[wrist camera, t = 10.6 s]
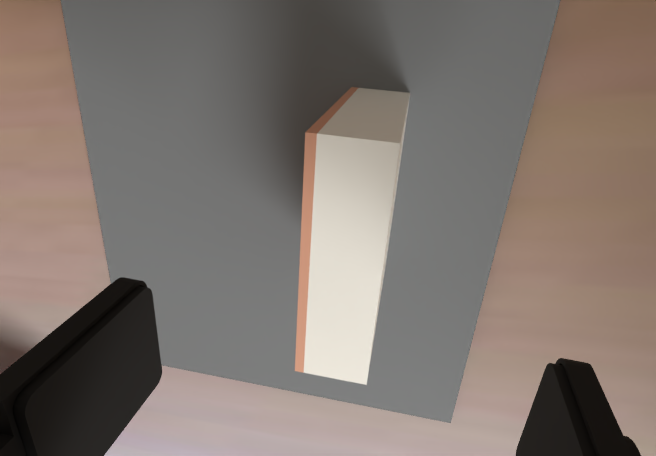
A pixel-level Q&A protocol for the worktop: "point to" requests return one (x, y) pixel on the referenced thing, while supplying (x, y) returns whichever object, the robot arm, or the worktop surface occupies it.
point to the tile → (347, 230)
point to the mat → (288, 168)
